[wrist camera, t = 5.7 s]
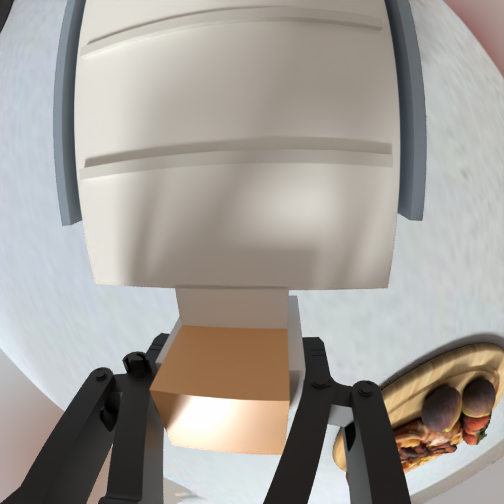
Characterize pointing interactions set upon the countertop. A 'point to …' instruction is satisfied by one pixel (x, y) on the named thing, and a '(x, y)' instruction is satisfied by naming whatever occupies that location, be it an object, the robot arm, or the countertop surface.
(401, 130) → the tub
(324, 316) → the countertop surface
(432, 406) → the wooden plate with food
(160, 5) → the lid
